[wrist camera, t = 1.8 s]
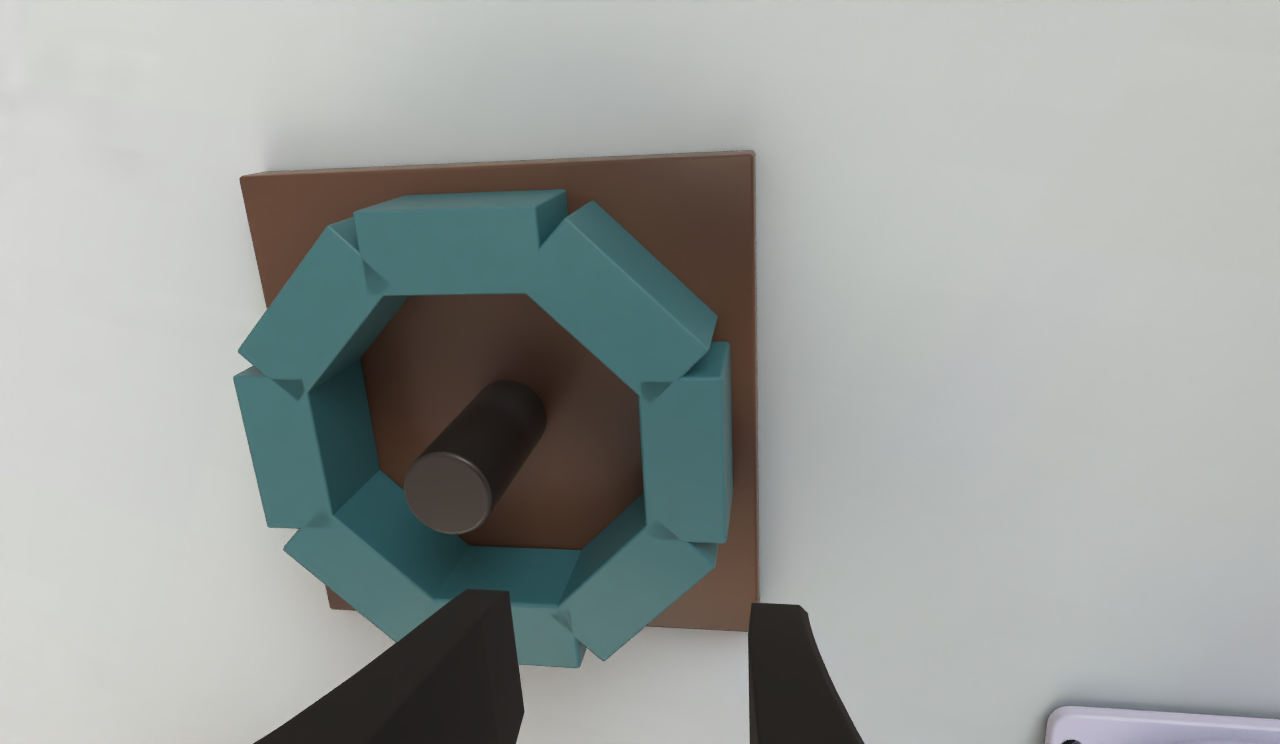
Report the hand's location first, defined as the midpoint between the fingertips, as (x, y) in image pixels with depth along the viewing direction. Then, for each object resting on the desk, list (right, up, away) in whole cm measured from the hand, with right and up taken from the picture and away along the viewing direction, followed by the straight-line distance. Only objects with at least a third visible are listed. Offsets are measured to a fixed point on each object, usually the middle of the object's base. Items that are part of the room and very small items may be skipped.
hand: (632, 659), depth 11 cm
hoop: (-3, +3, +9) cm, 9 cm away
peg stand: (-3, +3, +10) cm, 10 cm away
